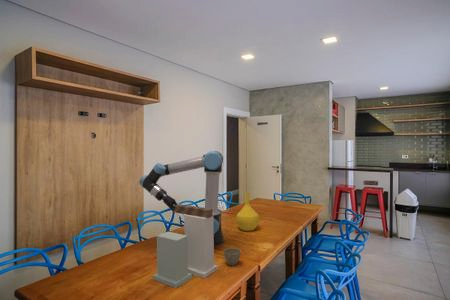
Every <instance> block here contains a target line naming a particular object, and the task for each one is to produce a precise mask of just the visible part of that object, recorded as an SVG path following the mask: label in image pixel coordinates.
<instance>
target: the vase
mask: <svg viewBox="0 0 450 300" xmlns="http://www.w3.org/2000/svg"><path fill="white" fill-rule="evenodd" d="M235 218H236V219H235V220H236V223H237V225H238V227H239V228H240V229H241V231H243V232H244V231H245V232H251V231H254V230H255V229H256V228H257V226H258V224H259V220H260V216H259V214H258V213H257V211H256V210H254V209H253V207H252V206H251V204H250V193H249V192H245V203H244V206H243V207H242V208H241V209H240V211H239V212H238V213H237V214H236V217H235Z"/></svg>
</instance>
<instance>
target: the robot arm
mask: <svg viewBox="0 0 450 300" xmlns="http://www.w3.org/2000/svg"><path fill="white" fill-rule="evenodd" d="M223 163H224V156H223V155H222V153H221V152H219V151H217V150H210V151H208V152H207V153H206V154H203V155H202V156H200V157H194V158H191V159H185V160H181V161H176V162H171V163H167V164H162V163H159V162H157V163H155V165H154V166H153V168H152V169H151V170H150V171H149V173H148V175H146V174H144V175H143V176H142V177H141V178H140V179H139V181H138V183H139V185H140V186H142V188H143V189H145V190H146V191H147V192H148V193H149V194H150V196H153V197H154V198H155V199H156V200H157V201H159V202H160V201H162V202H163V203H164V204H165V205H166V206H167V207H168V208H169V209H170V210H171V211H172V213H175V205H179V204H180V203H178V202H177V201H176V199H174V198H173V197H172V196H170V195H168V193H167V191H166V190H164V189H163V187H161V186H160V185H159V184H158V183H157V182H159V180H160V179H161V178H162V177H165V176H170V175H174V174H178V173H183V172H187V171H191V170H196V169H201V168H202V169H203V168H204V169H203V172H204V173H205V175H206V176H205V196H204V208H209V209H213V229H214V246H219V245H221V244H223V243H224V242H225V237H224V235H223V230H222V210H221V209H220V208H219V192H220V191H219V190H220V188H219V185H220V175H221V174H222V171H223ZM175 214H176V215H177V216H179V217H180V218H183V217H184V215H185V214H180V213H175Z"/></svg>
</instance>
